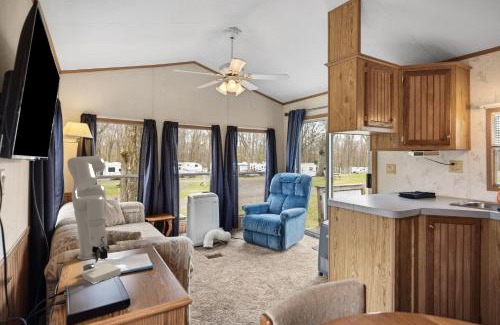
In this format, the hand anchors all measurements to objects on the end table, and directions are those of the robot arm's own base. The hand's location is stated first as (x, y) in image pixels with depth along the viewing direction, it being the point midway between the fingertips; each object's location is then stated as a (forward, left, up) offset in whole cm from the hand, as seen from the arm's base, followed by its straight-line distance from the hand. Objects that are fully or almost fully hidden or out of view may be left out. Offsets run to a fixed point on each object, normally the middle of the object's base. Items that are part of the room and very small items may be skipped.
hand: (100, 256), depth 147 cm
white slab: (0, 0, -10) cm, 10 cm away
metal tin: (-10, -2, -10) cm, 14 cm away
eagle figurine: (-1, +1, -2) cm, 3 cm away
